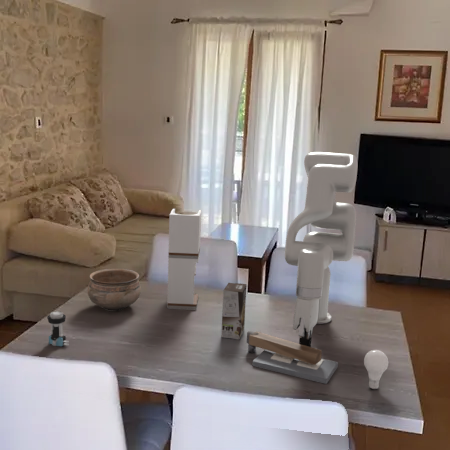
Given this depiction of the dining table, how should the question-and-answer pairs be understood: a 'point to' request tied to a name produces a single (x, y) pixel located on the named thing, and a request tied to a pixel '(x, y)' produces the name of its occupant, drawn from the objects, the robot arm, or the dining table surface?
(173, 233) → the white wood-banded pillar
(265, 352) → the label board
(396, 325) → the dining table surface
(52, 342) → the push button
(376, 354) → the lightbulb
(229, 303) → the coffee box
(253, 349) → the swing post
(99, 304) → the cooking pot
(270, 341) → the swing bar
